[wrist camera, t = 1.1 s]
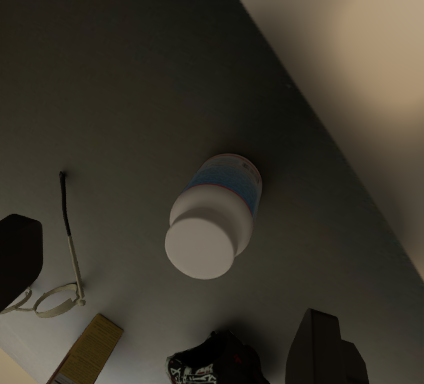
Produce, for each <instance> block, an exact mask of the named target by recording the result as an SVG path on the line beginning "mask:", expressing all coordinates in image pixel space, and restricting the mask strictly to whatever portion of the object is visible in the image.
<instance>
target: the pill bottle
mask: <svg viewBox="0 0 424 384" xmlns="http://www.w3.org/2000/svg"><path fill="white" fill-rule="evenodd" d="M261 193H262V180H261V176H260V174H259V171H258V170H257V168H256V167H255V166H254V165H253V164H252V163H251V162H250V161H249V160H248V159H246V158H244V157H242V156H240V155H237V154H229V153H227V154H220V155H216V156H214V157H212V158H210V159H208V160H207V161H205V162H204V163H203V164H202V166H201V167H200V168H199V169H198V171H197V172H196V174H195V175H194V176H193V178H192V179H191V181H190V182H189V183H188V185H187V186H186V188H185V189H184V190H183V192H182V193H181V194H180V196H179V197H178V198H177V200H176V201H175V203H174V205H173V207H172V210H171V214H170V228H169V230H168V232H167V234H166V238H165V249H166V253H167V255H168V257H169V259H170V261H171V262H172V263H173V265H174V266H175V267H176V268H177V269H178V270H180V271H181V272H182V273H184V274H186V275H188V276H191V277H193V278H198V279H213V278H217V277H219V276H221V275H223V274H224V273H226V272H227V271H228V270H229V269H230V267H231V266H232V264H233V261H234V258H235V257H236V256H237V255H239V254H240V253H241V252H242V251H243V250H244V249H245V248H246V246H247V245H248V243H249V241H250V238H251V235H252V232H253V227H254V223H255V219H256V214H257V210H258V206H259V202H260V197H261Z"/></svg>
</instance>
